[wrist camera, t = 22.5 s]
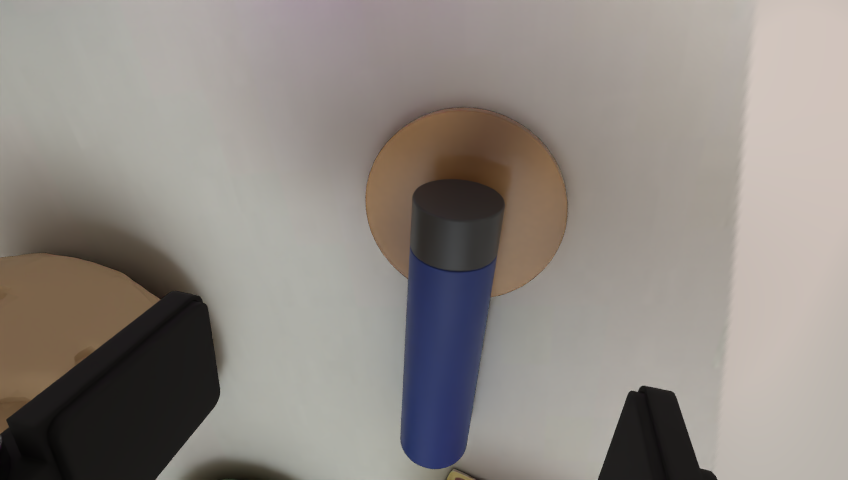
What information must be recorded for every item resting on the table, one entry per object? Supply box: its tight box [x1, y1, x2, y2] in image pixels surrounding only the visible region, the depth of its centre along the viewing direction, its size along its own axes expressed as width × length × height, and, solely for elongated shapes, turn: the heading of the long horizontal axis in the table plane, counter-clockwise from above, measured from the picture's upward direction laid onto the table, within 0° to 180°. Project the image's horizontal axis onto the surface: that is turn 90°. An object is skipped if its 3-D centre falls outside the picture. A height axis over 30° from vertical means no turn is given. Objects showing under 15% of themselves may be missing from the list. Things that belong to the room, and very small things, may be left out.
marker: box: [400, 179, 505, 469], centre depth 20 cm, size 3×13×3 cm, turn 176°
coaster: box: [365, 107, 567, 297], centre depth 20 cm, size 8×8×1 cm
